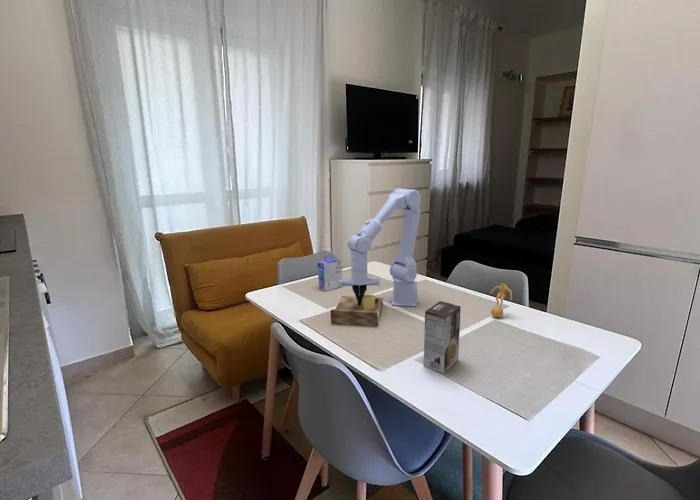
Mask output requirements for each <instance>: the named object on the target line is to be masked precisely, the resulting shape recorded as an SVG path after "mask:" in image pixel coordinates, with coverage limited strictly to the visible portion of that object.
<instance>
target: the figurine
mask: <svg viewBox="0 0 700 500" xmlns="http://www.w3.org/2000/svg"><path fill="white" fill-rule="evenodd" d="M496 289H499V292H498V293H497V296H496V297H495V301H496V304H495V305H494V306H493V307H492V308H491V310H490V313H491V315H492V316H493V317H494V318H501V317H502V316H503V315H504V309H503V308H502V306H503V303H504V301H503V300H504V299H505V297H506V294H505V293H506V291H508V292H510V297H509V300H510V301H512V300H513V291H512V290H511V289H510V288H509V287H508V285H506V284H505V283H501V284H500V285H497V286H495V287H494V288H493V289H492V290H491V291H490V293H489V294H490V295H491V294H492V292H494V291H495V290H496ZM499 299H500V300H499ZM499 302H500V305H499Z"/></svg>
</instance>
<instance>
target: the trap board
mask: <svg viewBox="0 0 700 500" xmlns="http://www.w3.org/2000/svg"><path fill="white" fill-rule="evenodd" d="M374 297H375V296H374ZM383 305H384V297H375V309H364V308H363V299H362V303H361V306H358V302H357V298H356V296H355V295H353V296H349V295H342V296H341V298H340V299H339V302H338V303H337V305H336V307H335V309H330V324H331V325H340V326H358V327H374V328H378V326H379V322H380V318H381V313H382V309H383Z"/></svg>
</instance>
